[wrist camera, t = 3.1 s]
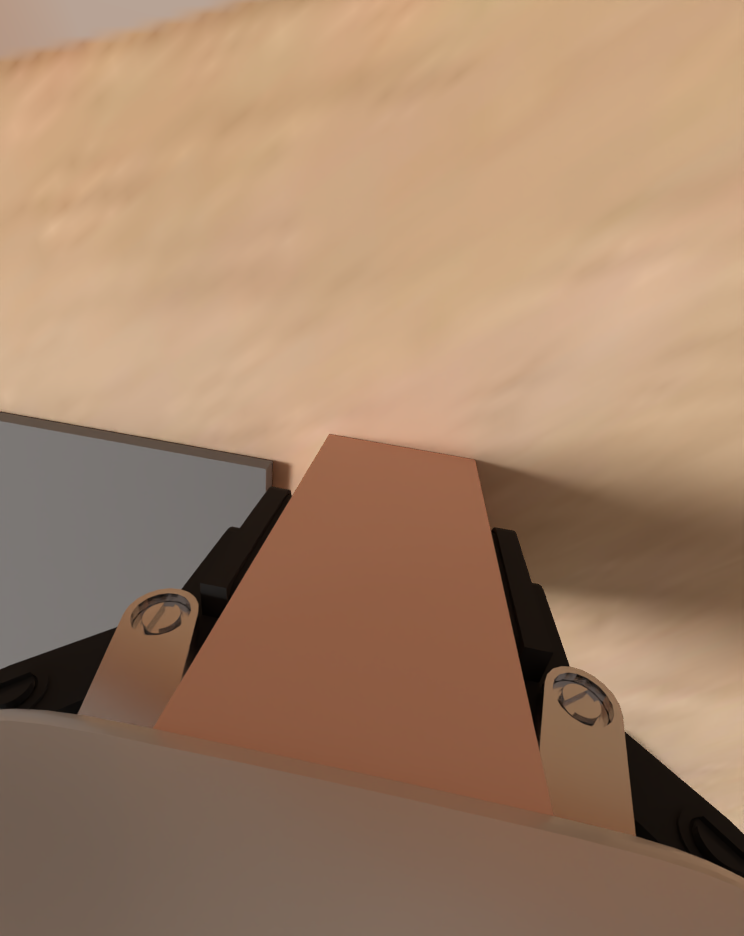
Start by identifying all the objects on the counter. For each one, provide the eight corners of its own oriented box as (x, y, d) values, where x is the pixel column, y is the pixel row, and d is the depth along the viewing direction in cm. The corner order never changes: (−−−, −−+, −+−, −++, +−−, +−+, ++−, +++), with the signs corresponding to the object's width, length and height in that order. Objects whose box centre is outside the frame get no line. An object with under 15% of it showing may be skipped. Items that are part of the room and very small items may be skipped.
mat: (272, 460, 14) (266, 468, 13) (265, 724, 20) (260, 737, 19) (-233, 370, 14) (-258, 374, 14) (-87, 649, 21) (-100, 659, 20)
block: (474, 459, 13) (578, 928, 4) (443, 574, 15) (462, 1054, 6) (329, 434, 13) (100, 816, 4) (318, 550, 15) (150, 976, 6)
